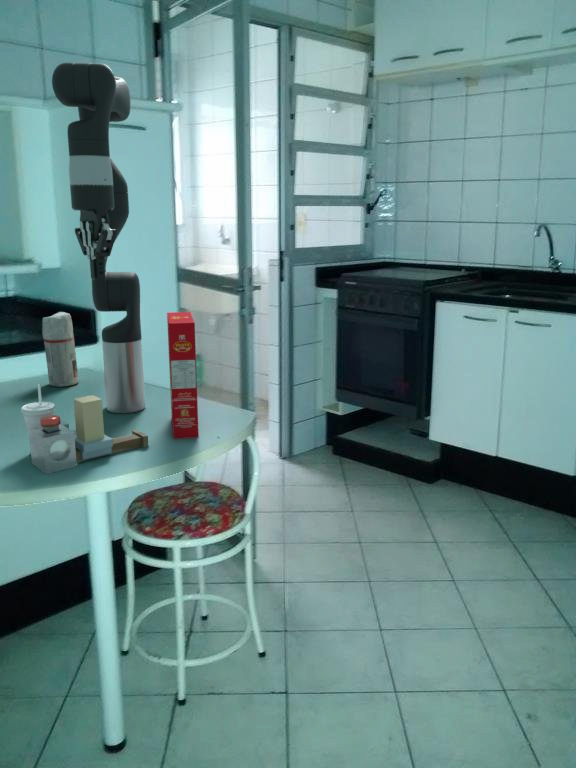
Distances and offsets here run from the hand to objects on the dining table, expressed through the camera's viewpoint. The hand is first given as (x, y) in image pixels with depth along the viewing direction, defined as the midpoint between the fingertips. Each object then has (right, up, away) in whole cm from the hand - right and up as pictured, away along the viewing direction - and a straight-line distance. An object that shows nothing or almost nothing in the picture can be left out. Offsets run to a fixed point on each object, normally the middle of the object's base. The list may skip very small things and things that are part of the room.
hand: (98, 279), depth 128 cm
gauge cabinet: (-10, -35, +4) cm, 37 cm away
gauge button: (-10, -33, +4) cm, 34 cm away
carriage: (-7, -33, +11) cm, 35 cm away
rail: (-2, -33, +11) cm, 35 cm away
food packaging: (+12, -29, +27) cm, 41 cm away
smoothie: (-14, -33, +11) cm, 38 cm away
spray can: (-27, -20, +64) cm, 72 cm away
